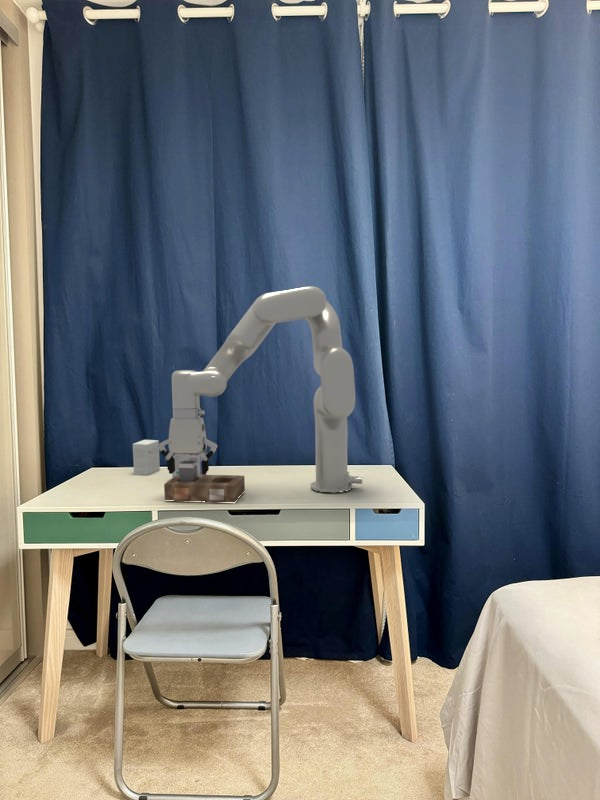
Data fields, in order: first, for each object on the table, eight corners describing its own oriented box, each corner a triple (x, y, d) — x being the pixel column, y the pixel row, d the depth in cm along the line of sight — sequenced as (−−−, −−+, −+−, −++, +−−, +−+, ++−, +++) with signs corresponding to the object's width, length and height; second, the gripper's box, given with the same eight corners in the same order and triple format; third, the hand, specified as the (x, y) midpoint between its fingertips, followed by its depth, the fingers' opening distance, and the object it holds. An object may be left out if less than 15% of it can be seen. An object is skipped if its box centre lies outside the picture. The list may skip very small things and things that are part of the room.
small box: (145, 469, 208) (144, 439, 207) (160, 470, 207) (159, 440, 206) (133, 474, 201) (132, 443, 199) (148, 475, 199) (147, 444, 198)
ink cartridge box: (207, 478, 194) (206, 434, 192) (201, 482, 189) (200, 437, 187) (178, 477, 196) (177, 433, 194) (171, 481, 191) (170, 436, 189)
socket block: (244, 492, 177) (244, 475, 176) (234, 504, 165) (234, 486, 164) (179, 490, 179) (178, 474, 179) (164, 501, 167) (163, 484, 167)
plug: (198, 494, 175) (197, 460, 173) (193, 498, 171) (192, 463, 170) (184, 494, 175) (183, 460, 174) (179, 498, 171) (178, 463, 170)
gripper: (219, 412, 173) (221, 470, 175) (161, 412, 175) (164, 469, 177) (212, 416, 165) (213, 477, 167) (152, 415, 168) (154, 475, 170)
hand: (188, 473), depth 172 cm, fingers open, 9 cm apart
